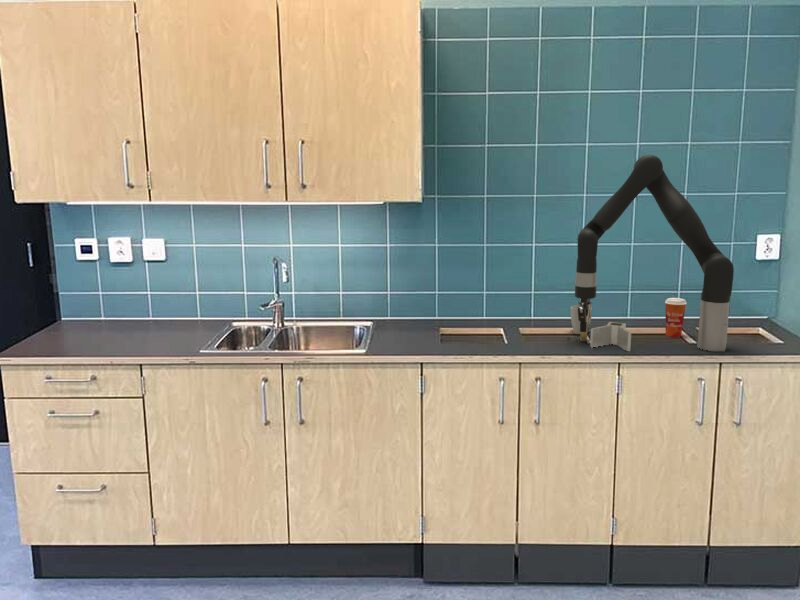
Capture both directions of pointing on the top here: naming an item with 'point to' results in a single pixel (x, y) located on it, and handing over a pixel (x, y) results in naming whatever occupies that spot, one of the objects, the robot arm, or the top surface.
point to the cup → (575, 319)
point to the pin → (584, 333)
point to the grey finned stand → (611, 336)
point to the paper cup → (674, 316)
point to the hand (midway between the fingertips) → (584, 330)
